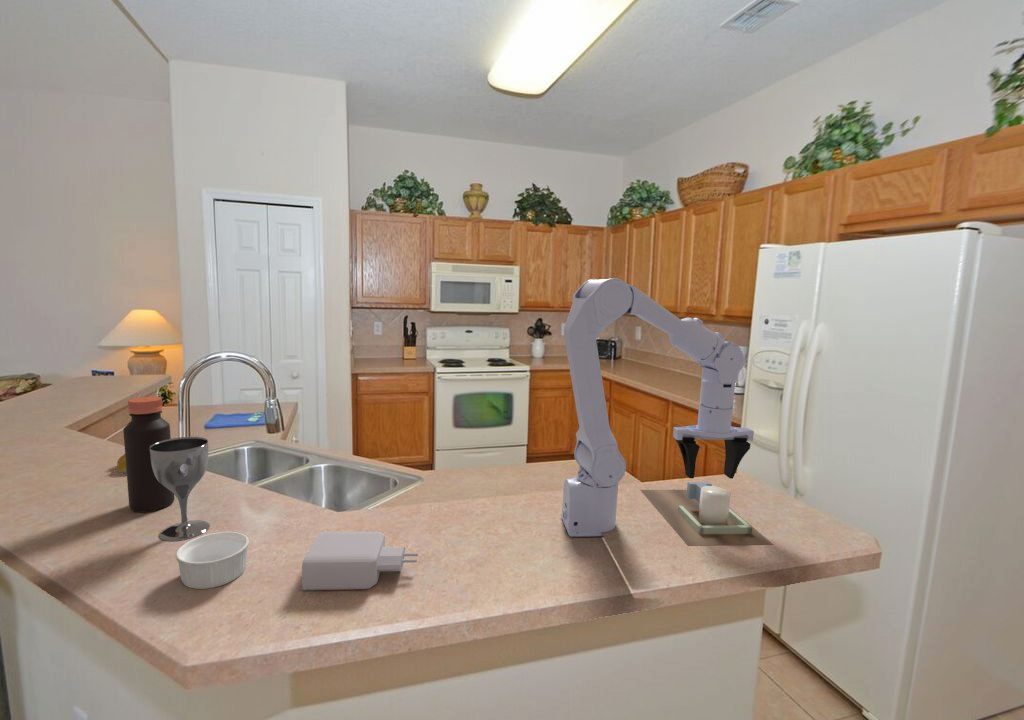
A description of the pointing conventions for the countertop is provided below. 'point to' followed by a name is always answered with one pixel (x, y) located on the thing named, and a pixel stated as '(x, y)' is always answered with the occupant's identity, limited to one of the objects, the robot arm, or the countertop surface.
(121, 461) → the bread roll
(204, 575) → the ramekin
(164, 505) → the bottle
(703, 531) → the cradle
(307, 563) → the charger
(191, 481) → the wine glass
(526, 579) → the countertop surface
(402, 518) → the countertop surface
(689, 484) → the white blue t-bar grip
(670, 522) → the board
